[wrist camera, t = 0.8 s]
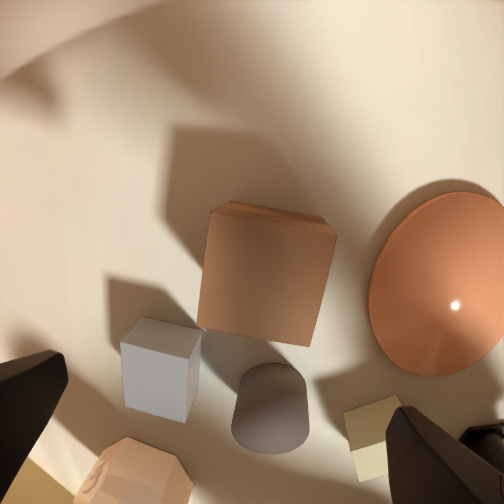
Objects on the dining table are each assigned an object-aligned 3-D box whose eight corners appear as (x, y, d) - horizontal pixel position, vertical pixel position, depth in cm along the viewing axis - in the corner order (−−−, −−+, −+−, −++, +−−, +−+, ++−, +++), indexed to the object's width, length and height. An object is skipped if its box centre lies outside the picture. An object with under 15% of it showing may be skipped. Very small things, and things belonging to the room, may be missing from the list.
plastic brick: (203, 329, 20) (188, 359, 16) (197, 390, 21) (185, 423, 17) (143, 315, 20) (120, 341, 16) (144, 376, 21) (125, 406, 18)
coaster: (536, 217, 15) (543, 219, 15) (484, 372, 18) (488, 377, 18) (395, 168, 16) (400, 168, 15) (344, 362, 19) (346, 369, 18)
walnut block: (322, 217, 17) (337, 235, 12) (303, 303, 18) (309, 347, 14) (230, 201, 17) (210, 212, 13) (217, 287, 19) (196, 326, 14)
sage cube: (396, 393, 20) (411, 431, 16) (401, 428, 20) (414, 464, 16) (342, 411, 20) (350, 451, 16) (352, 444, 21) (359, 482, 17)
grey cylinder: (313, 368, 19) (318, 409, 16) (297, 416, 21) (298, 458, 17) (245, 357, 20) (236, 396, 16) (235, 407, 21) (226, 447, 17)
